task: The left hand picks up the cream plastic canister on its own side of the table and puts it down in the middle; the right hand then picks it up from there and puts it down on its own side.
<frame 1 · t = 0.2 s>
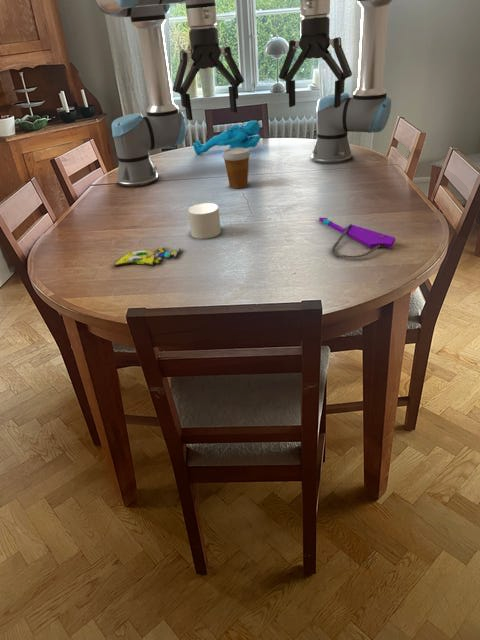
left hand: (212, 115, 135), 28 cm above the table, tool pointing down, fingers open, 13 cm apart
right hand: (314, 106, 134), 28 cm above the table, tool pointing down, fingers open, 13 cm apart
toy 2: (148, 258, 125), on the table
disposable coffee cup: (238, 186, 170), on the table
canister: (206, 232, 136), on the table
toy: (227, 152, 211), on the table
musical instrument: (346, 241, 124), on the table
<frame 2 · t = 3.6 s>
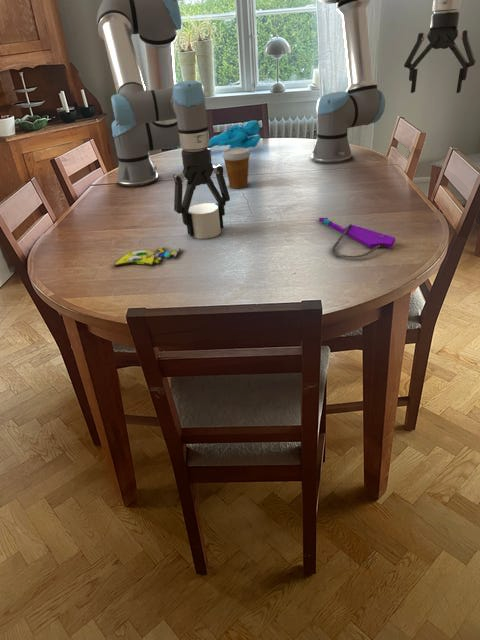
left hand: (205, 230, 136), 1 cm above the table, tool pointing down, fingers closed on canister, 8 cm apart
right hand: (435, 92, 150), 26 cm above the table, tool pointing down, fingers open, 13 cm apart
canister: (206, 232, 136), on the table, touching left hand
everything else where it was.
when the left hand's fingers open (2 cm above the table, at t = 11.4 s): canister drops 1 cm, on the table.
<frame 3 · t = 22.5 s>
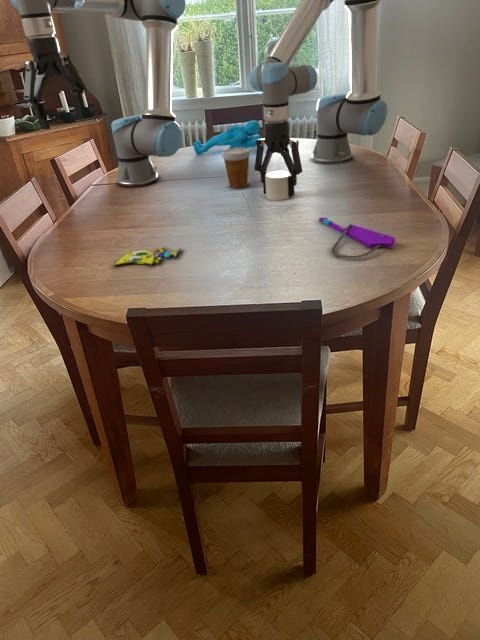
left hand: (64, 123, 136), 29 cm above the table, tool pointing down, fingers open, 13 cm apart
right hand: (278, 193, 157), 1 cm above the table, tool pointing down, fingers closed on canister, 8 cm apart
canister: (278, 195, 158), on the table, touching right hand
everything else where it was.
when the right hand's fingers open (2 cm above the table, at t = 29.7 s): canister drops 1 cm, on the table.
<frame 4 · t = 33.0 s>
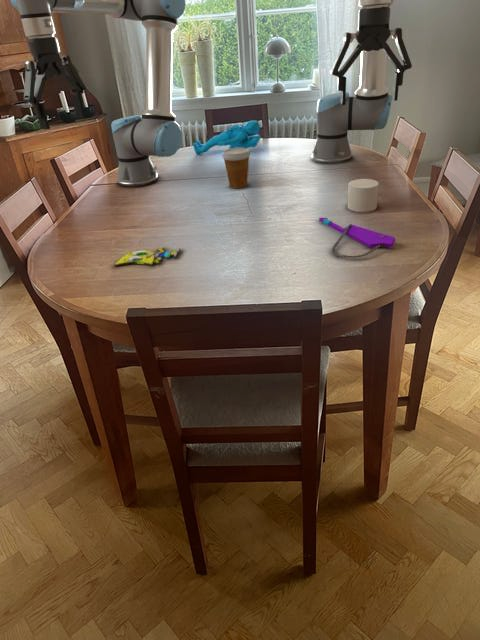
left hand: (64, 123, 136), 29 cm above the table, tool pointing down, fingers open, 13 cm apart
right hand: (368, 102, 128), 29 cm above the table, tool pointing down, fingers open, 13 cm apart
canister: (362, 207, 143), on the table
everything else where it was.
at the end: canister inside the target area (0.1 cm from its centre), on the table; canister tilted 0°; the two hands never held the canister at the same time; the left hand is holding nothing; the right hand is holding nothing; canister at rest at the end (0.0 cm/s) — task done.
